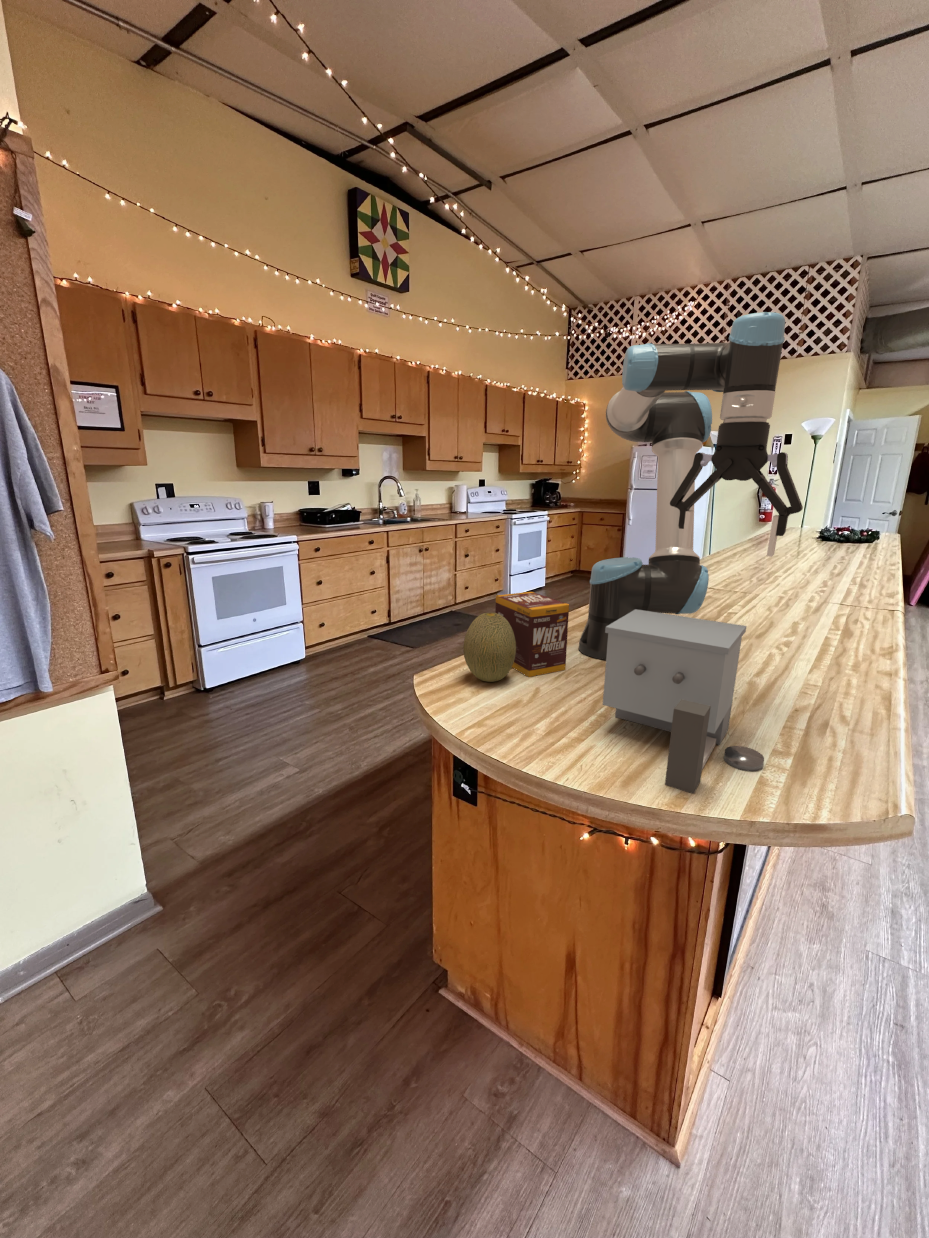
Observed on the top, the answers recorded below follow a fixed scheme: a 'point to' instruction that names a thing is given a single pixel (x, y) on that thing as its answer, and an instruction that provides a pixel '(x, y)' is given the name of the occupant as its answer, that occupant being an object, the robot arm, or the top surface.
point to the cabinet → (671, 668)
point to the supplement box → (536, 631)
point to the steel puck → (743, 758)
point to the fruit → (489, 647)
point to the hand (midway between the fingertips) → (726, 551)
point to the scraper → (688, 745)
